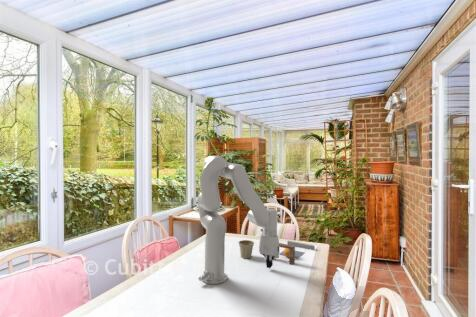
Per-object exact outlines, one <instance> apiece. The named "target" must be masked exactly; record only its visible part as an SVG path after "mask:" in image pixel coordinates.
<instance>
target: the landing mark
mask: <svg viewBox="0 0 476 317" xmlns="http://www.w3.org/2000/svg"><path fill="white" fill-rule="evenodd" d="M303 253H304V254H305V252H304V251H298V250H295V259H299V258H300V257H301V256H303V255H304V254H303ZM279 256H285V255H284V253H283V251H281V252H279ZM285 257H286V256H285Z"/></svg>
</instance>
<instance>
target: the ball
mask: <svg viewBox="0 0 476 317" xmlns="http://www.w3.org/2000/svg"><path fill="white" fill-rule="evenodd" d="M282 252H283V253H284V255H285V257H286V258H289V249H287V248H283V251H282Z"/></svg>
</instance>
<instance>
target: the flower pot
mask: <svg viewBox="0 0 476 317" xmlns="http://www.w3.org/2000/svg"><path fill="white" fill-rule="evenodd" d="M254 244H255V242H254V241H252V240H249V239H248V240H247V239H242V240H239V241H238V245H239V251H240V258H242V259H245V260H247V259H251V258H252V254H253V249H254V248H253V247H254Z"/></svg>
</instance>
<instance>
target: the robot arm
mask: <svg viewBox="0 0 476 317" xmlns="http://www.w3.org/2000/svg"><path fill="white" fill-rule="evenodd" d="M203 166H204V167H203V168H202V171H201V173H200V178H199V184H200V186H199V187H200V193H199V194H198V196H197V208H198V215H199V220H200V223H201V226H202V227H203V228H204V229H205V230H206V231H205V239H204V271H203V274H201V276H199V277H198V280H199V281H200V282H204V283H205V284H208V285H209V284H210V285H219V284H223V283H225V282H226V281H227V280H228V274H227V273H226V272H225V250H226V249H225V248H226V247H225V245H226V244H225V241H226V238H225V237H226V232H227V231H226V230H227V222H226V220H225V218H224V217H223V216H222V215H221V214H220V213H218V211H219V209H220V208H221V197H220V196H221V195H220V189H219V177H222V178H225V179H227V180H230V181H231V183H232V185H233V188H234V190H235V192H236V195H237V196H238V198H239V199H240V200H241V201H242V202H243V203H244V204H245V205H246V206H247V207H248V208H249V210H248V212H247V215H246V217H247V219H248V221H249V222H250V223H252V224H254V225H256V226H257V227H260V228H261V229H260V232H262V233H261V234H260V238H259V246H258V252H259V254H260V255H262V256H263V257H264V259H265V266H266V268H267V269H268V268H269V269H271V268H272V267H273V266H274V264H273V262H274V259H279V257H280V255H279V254H280V247H279V243H280V241H279V240H280V239H279V236H278V210H276V209H275V208H266V205H265V203H264V202H263V200H262V199H261V197H260V196H259V195H258V193H257V192H256V190H255V189H254V187H253V185H252V182H251V179H250V178H249V175H248V173H247V171H246V169H245V167H244V166H243V165H241V164H239V163H232V162H231V161H227V160H226V159H225V158H224V157H223V156H222V155H209V156H207V157H206V158H205V159H204V161H203ZM269 255H270V256H269Z"/></svg>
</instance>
